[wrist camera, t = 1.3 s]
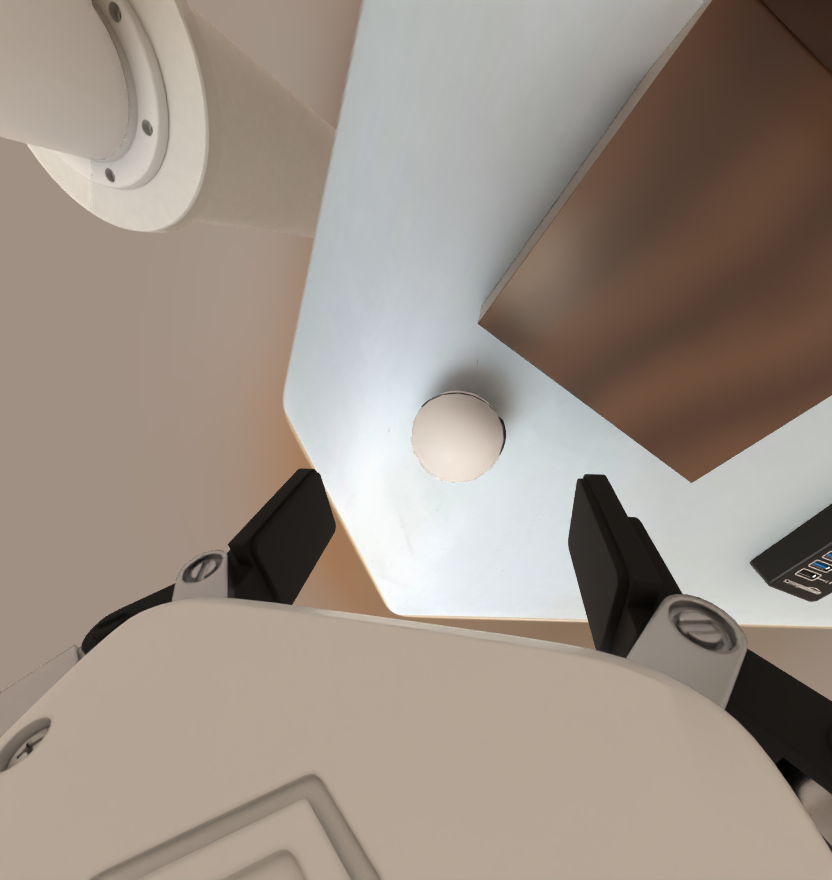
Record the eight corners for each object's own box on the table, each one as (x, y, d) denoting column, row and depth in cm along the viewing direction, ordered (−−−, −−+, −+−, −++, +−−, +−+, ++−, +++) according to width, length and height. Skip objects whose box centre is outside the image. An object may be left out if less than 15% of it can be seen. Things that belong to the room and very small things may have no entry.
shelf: (481, 306, 24) (475, 331, 15) (650, 67, 17) (827, -149, 8) (639, 425, 26) (716, 510, 17) (852, 257, 18) (1178, 252, 10)
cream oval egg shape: (480, 464, 30) (477, 516, 24) (409, 433, 30) (388, 477, 24) (536, 371, 25) (551, 407, 19) (451, 333, 25) (437, 357, 19)
